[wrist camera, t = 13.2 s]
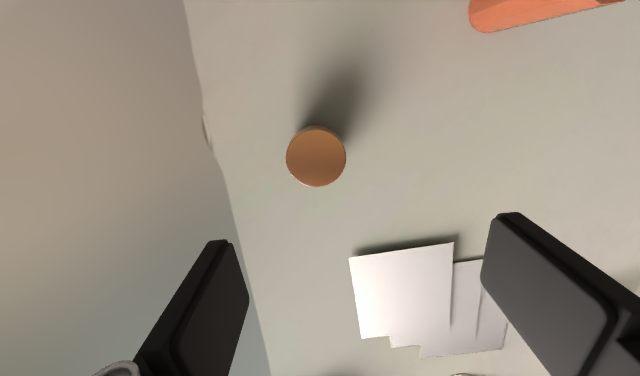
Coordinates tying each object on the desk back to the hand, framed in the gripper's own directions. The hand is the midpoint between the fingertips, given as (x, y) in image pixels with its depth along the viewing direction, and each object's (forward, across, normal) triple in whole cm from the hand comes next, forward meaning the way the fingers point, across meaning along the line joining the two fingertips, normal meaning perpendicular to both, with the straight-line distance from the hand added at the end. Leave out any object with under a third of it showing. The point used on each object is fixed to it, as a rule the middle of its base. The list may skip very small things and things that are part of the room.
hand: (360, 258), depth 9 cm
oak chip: (+18, +2, +2) cm, 19 cm away
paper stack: (+20, -13, +28) cm, 37 cm away
